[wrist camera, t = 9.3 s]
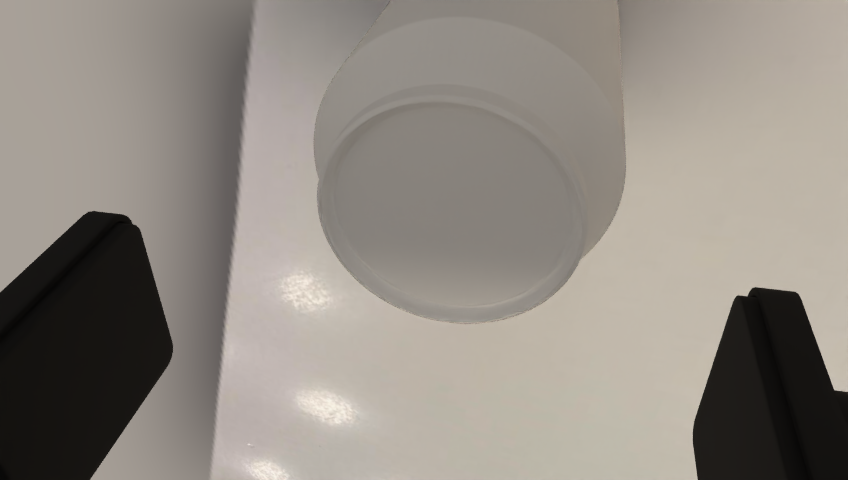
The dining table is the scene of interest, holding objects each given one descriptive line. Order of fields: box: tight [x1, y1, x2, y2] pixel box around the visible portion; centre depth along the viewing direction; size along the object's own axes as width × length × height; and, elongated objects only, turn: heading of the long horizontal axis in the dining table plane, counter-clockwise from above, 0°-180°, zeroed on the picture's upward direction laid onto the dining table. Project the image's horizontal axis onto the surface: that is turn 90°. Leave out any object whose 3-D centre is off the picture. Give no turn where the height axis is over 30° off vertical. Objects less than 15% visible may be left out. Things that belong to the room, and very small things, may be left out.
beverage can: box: [314, 0, 626, 324], centre depth 17 cm, size 6×6×12 cm
